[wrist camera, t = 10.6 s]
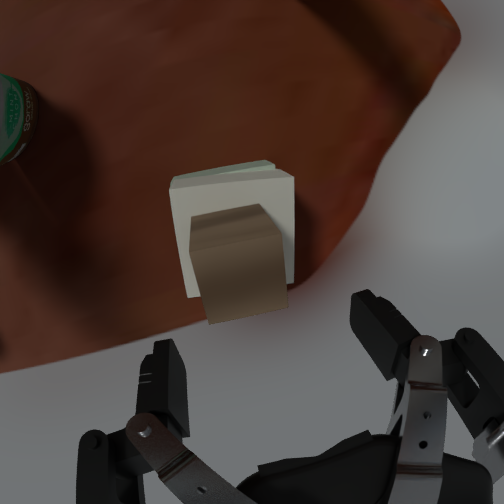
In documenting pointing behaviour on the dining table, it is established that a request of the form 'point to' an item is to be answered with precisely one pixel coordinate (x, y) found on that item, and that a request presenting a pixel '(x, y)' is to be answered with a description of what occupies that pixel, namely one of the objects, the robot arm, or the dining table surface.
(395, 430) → the robot arm
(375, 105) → the dining table surface
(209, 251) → the walnut block
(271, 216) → the tower top
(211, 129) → the dining table surface
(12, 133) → the food container
